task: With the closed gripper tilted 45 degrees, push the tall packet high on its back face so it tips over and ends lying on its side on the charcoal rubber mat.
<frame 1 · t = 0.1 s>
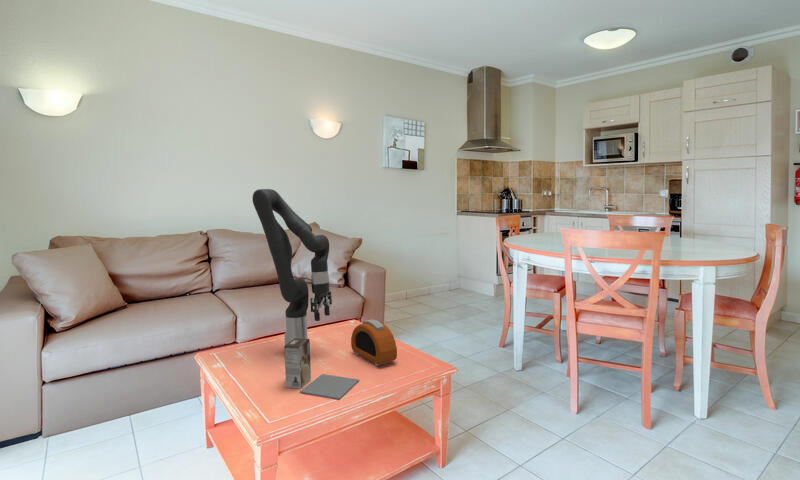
hand: (322, 318, 189), 17 cm above the table, tool pointing down, fingers open, 8 cm apart
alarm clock: (373, 358, 189), on the table
coffee box: (298, 383, 164), on the table
mat: (330, 386, 161), on the table
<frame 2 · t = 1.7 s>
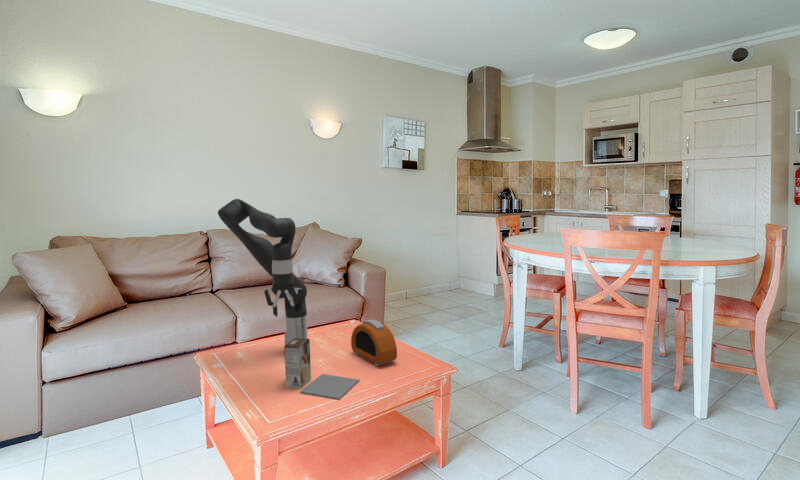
hand: (284, 315, 165), 25 cm above the table, tool pointing down, fingers open, 5 cm apart
nothing on the table moved.
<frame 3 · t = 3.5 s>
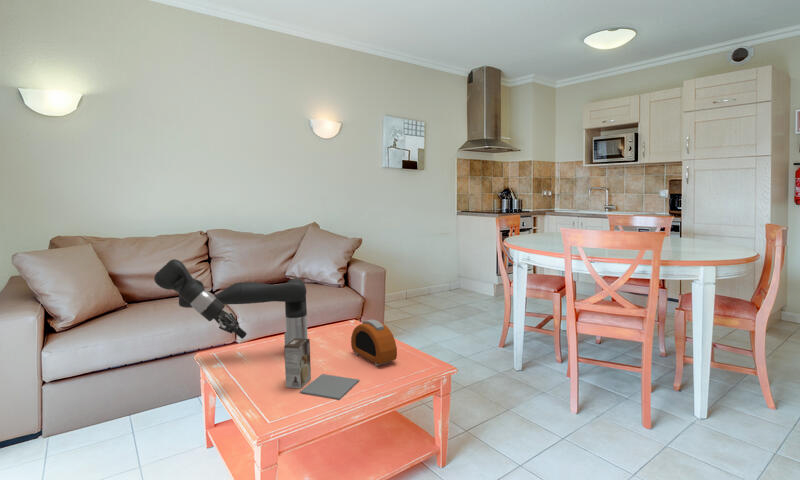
hand: (244, 336, 159), 19 cm above the table, tool tilted 45°, fingers closed
nothing on the table moved.
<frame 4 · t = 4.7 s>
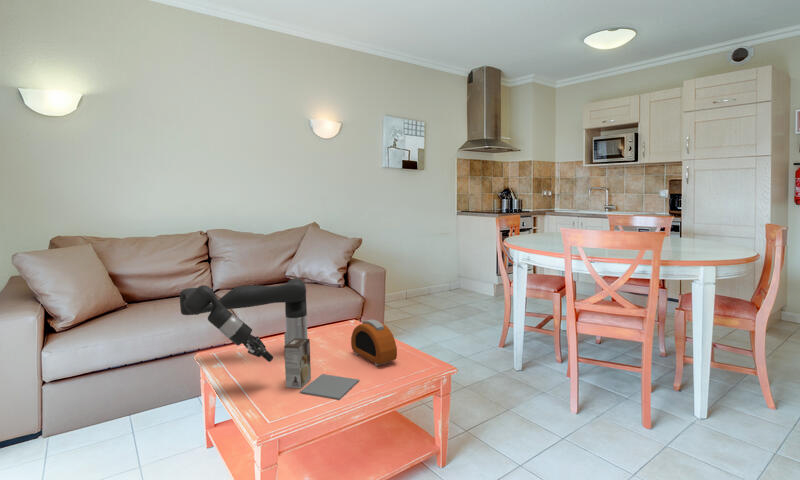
hand: (271, 359, 162), 10 cm above the table, tool tilted 45°, fingers closed
nothing on the table moved.
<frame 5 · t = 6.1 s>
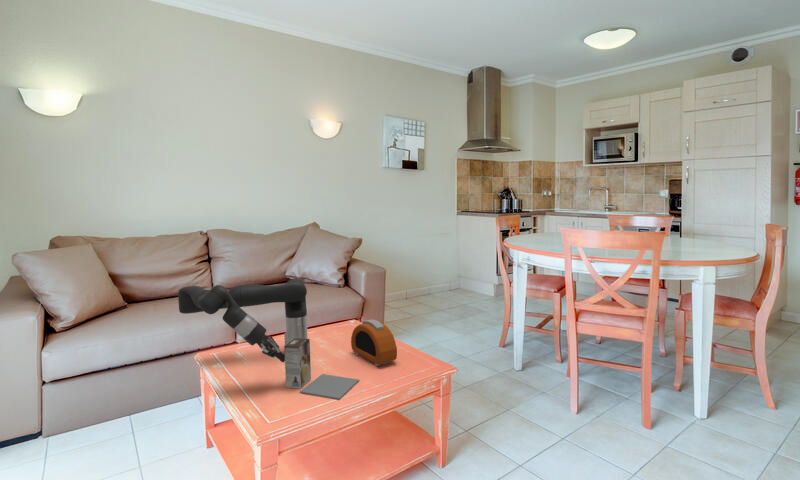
hand: (285, 360, 162), 10 cm above the table, tool tilted 45°, fingers closed
coffee box: (298, 383, 164), on the table, touching gripper
everything else where it was.
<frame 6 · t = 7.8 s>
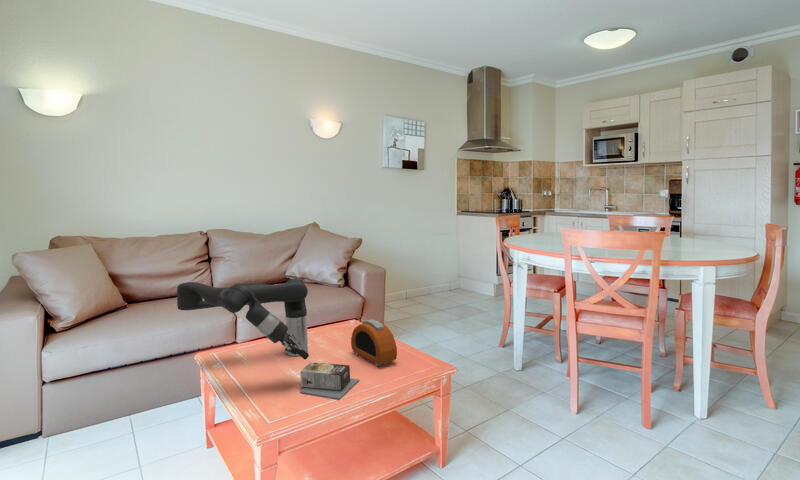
hand: (307, 357, 164), 10 cm above the table, tool tilted 45°, fingers closed
coffee box: (305, 374, 163), point 4 cm above the table, touching mat
everything else where it was.
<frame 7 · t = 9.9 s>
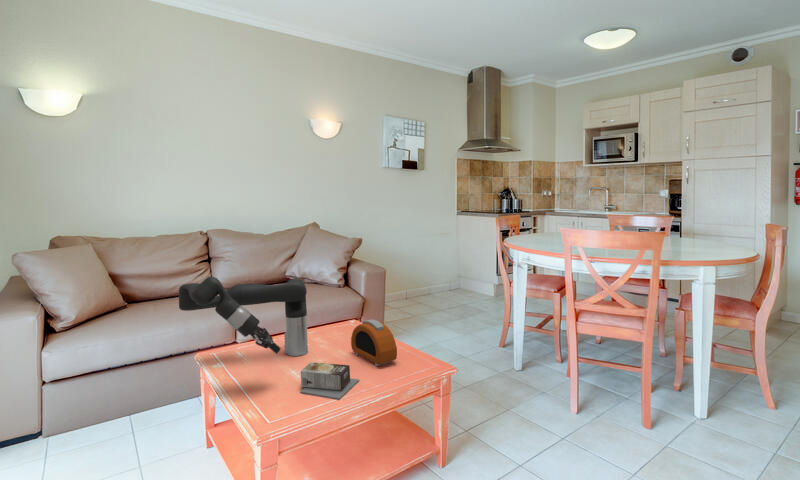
hand: (278, 351, 162), 13 cm above the table, tool tilted 45°, fingers closed
nothing on the table moved.
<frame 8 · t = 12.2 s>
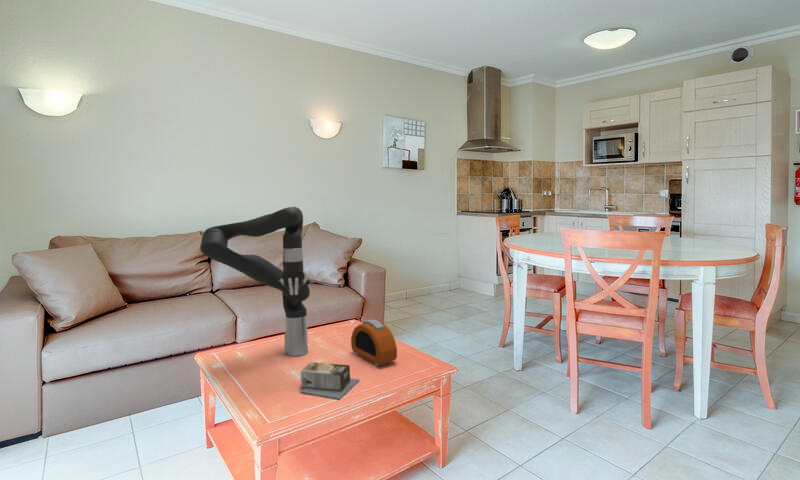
hand: (294, 304, 167), 29 cm above the table, tool pointing down, fingers closed
nothing on the table moved.
at the end: coffee box tilted 90°; coffee box touching mat; coffee box inside the target area (5.2 cm from its centre), point 3.8 cm above the table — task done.
